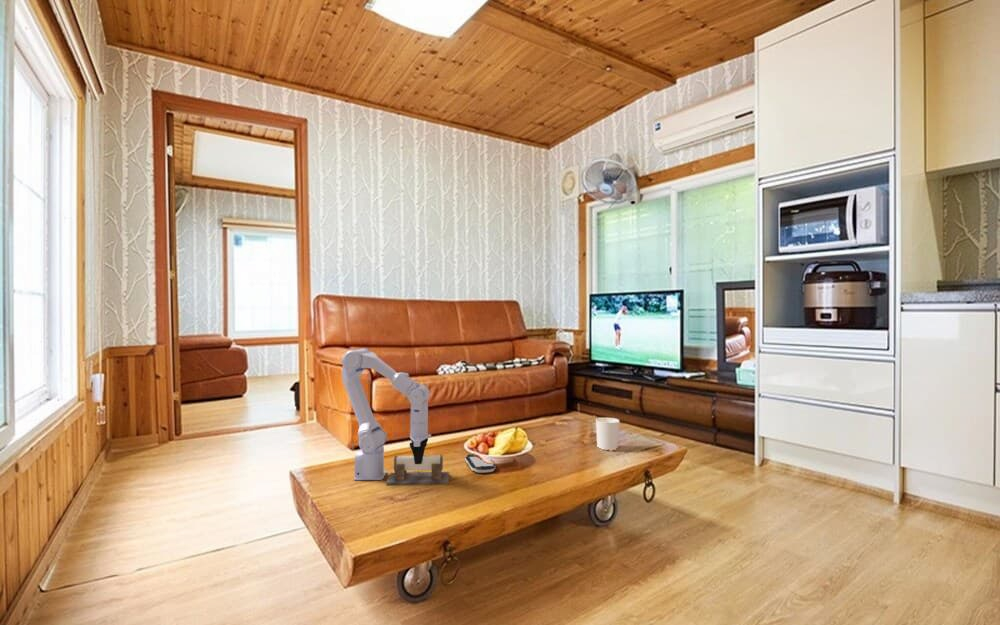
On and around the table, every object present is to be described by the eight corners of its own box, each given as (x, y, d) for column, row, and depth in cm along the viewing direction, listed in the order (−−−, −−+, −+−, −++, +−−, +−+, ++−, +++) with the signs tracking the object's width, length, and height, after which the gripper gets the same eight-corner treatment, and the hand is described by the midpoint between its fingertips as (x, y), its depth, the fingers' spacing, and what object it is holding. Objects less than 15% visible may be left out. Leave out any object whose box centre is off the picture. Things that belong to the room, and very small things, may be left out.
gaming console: (463, 459, 183) (463, 453, 183) (485, 458, 185) (485, 451, 185) (473, 476, 164) (473, 469, 164) (498, 474, 167) (498, 467, 167)
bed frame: (386, 485, 154) (386, 466, 154) (390, 475, 163) (390, 458, 163) (448, 483, 156) (448, 465, 156) (448, 474, 165) (449, 457, 165)
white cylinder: (592, 445, 202) (592, 417, 202) (614, 445, 203) (614, 417, 203) (599, 452, 192) (599, 422, 192) (622, 451, 194) (623, 422, 194)
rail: (393, 470, 157) (394, 458, 157) (395, 467, 160) (395, 455, 160) (442, 469, 159) (442, 457, 159) (442, 466, 162) (442, 455, 162)
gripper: (429, 427, 152) (429, 469, 153) (432, 417, 167) (432, 455, 167) (407, 427, 152) (407, 469, 152) (412, 417, 166) (412, 455, 166)
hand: (418, 462), depth 159 cm, fingers closed on rail, 3 cm apart
